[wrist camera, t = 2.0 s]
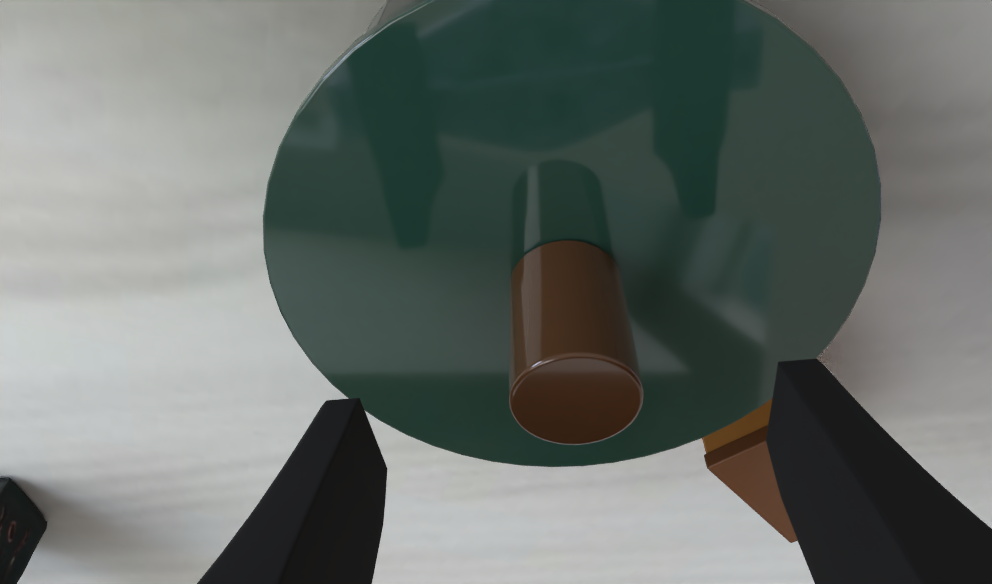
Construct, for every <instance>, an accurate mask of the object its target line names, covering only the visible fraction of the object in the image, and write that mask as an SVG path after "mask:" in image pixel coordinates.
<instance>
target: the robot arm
mask: <svg viewBox="0 0 992 584" xmlns="http://www.w3.org/2000/svg"><path fill="white" fill-rule="evenodd" d="M766 443H767V447H768V451H769V455H770V459H771V462H772V466H773V470H774V474H775V478H776V481H777V485H778V489H779V492H780V496H781V499H782V501H783V504H784V507H785V509H786V512H787V514H788V517H789V519H790V522H791V524H792V527H793V530H794V532H795V535H796V537H797V540H798V542H799V545H800V547H801V550H802V552H803V555H804V557H805V560H806V562H807V565H808V567H809V570H810V572H811V575H812V577H813V580H814V582H815V584H992V529H991V528H990V527H989V526H988V525H986V524H985V523H984V522H983V521H982V520H980V519H979V518H978V517H977V516H976V515H975V514H973V513H972V512H971V511H970V510H969V509H968V508H967V507H965V506H964V505H963V504H962V503H961V502H960V501H959V500H958V499H956V498H955V497H954V496H953V495H952V494H951V493H950V492H949V491H947V490H946V489H945V488H944V487H943V486H942V485H941V484H940V483H939V482H938V481H936V480H935V479H934V478H933V477H932V476H931V475H930V474H929V473H928V472H927V471H926V470H925V469H924V468H923V467H922V466H921V465H920V464H918V463H917V462H916V461H915V460H914V459H913V458H912V457H911V456H910V455H909V454H908V453H907V452H906V451H905V450H904V449H903V448H902V447H901V446H900V445H899V444H898V443H897V442H896V441H895V440H894V439H893V438H892V437H891V436H890V435H889V434H888V433H887V432H886V431H885V430H884V429H883V428H882V427H881V426H880V425H879V424H878V423H877V422H876V421H875V420H874V419H873V418H872V417H871V416H870V415H869V414H868V413H867V411H866V410H865V409H864V408H863V407H862V406H861V405H860V404H859V403H858V402H857V401H856V400H855V399H854V398H853V397H852V396H851V395H850V393H849V392H848V391H847V390H846V389H845V388H844V387H843V386H842V385H841V384H840V383H839V381H838V380H837V379H836V378H835V377H834V376H833V375H832V374H831V373H830V372H829V370H828V369H827V368H826V367H825V366H824V365H823V364H822V363H821V362H820V361H819V360H817V359H805V360H793V361H782V362H778V366H777V372H776V379H775V385H774V392H773V398H772V404H771V411H770V417H769V423H768V430H767V436H766ZM386 479H387V467H386V464H385V462H384V459H383V457H382V454H381V452H380V449H379V447H378V444H377V441H376V439H375V436H374V434H373V431H372V429H371V426H370V423H369V421H368V418H367V416H366V413H365V411H364V408H363V406H362V403H361V400H360V398H352V399H340V400H329V401H326V402H325V403H324V404H323V405H322V407H321V408H320V410H319V412H318V413H317V415H316V416H315V418H314V419H313V421H312V423H311V424H310V426H309V427H308V429H307V431H306V432H305V434H304V435H303V437H302V439H301V440H300V442H299V443H298V445H297V446H296V448H295V450H294V451H293V453H292V454H291V456H290V457H289V459H288V460H287V462H286V463H285V465H284V466H283V468H282V470H281V471H280V472H279V474H278V475H277V477H276V478H275V480H274V481H273V483H272V484H271V486H270V487H269V489H268V490H267V492H266V493H265V494H264V496H263V497H262V499H261V500H260V502H259V503H258V505H257V506H256V508H255V509H254V510H253V512H252V513H251V515H250V516H249V517H248V519H247V520H246V521H245V523H244V524H243V525H242V527H241V528H240V529H239V531H238V532H237V533H236V535H235V536H234V537H233V539H232V540H231V541H230V543H229V544H228V545H227V547H226V548H225V549H224V551H223V552H222V553H221V555H220V556H219V557H218V558H217V560H216V561H215V562H214V563H213V565H212V566H211V567H210V568H209V570H208V571H207V572H206V573H205V575H204V576H203V577H202V578H201V579H200V581H199V582H198V583H197V584H372V579H373V574H374V569H375V564H376V559H377V554H378V548H379V543H380V538H381V532H382V527H383V519H384V508H385V495H386Z"/></svg>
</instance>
